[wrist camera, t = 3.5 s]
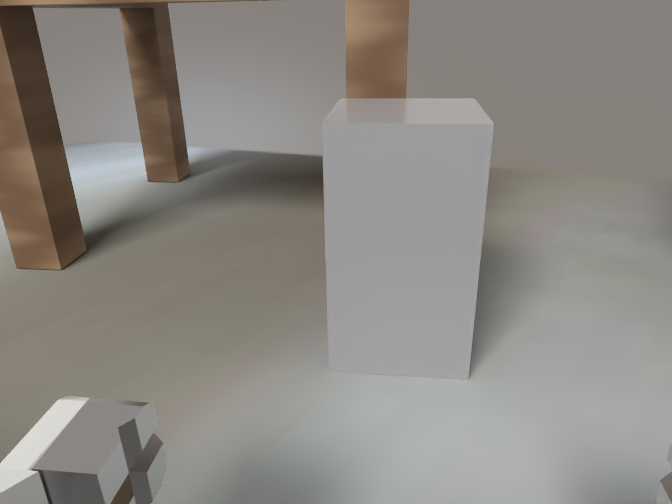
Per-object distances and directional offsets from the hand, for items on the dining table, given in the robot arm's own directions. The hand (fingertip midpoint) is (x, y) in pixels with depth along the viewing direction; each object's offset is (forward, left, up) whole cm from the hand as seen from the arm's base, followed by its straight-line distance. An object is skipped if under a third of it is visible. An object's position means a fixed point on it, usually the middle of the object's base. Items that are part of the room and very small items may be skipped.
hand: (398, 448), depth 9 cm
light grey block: (0, +12, -6) cm, 13 cm away
